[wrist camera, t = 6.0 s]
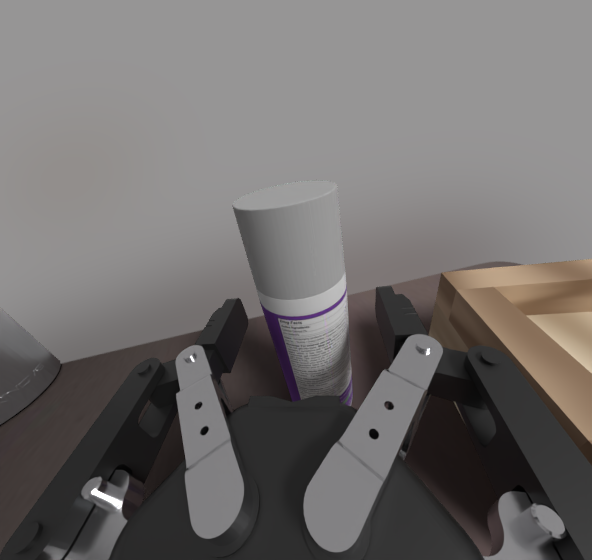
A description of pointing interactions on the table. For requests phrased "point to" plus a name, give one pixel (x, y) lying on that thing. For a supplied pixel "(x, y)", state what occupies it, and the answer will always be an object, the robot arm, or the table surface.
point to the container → (301, 282)
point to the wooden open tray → (529, 330)
